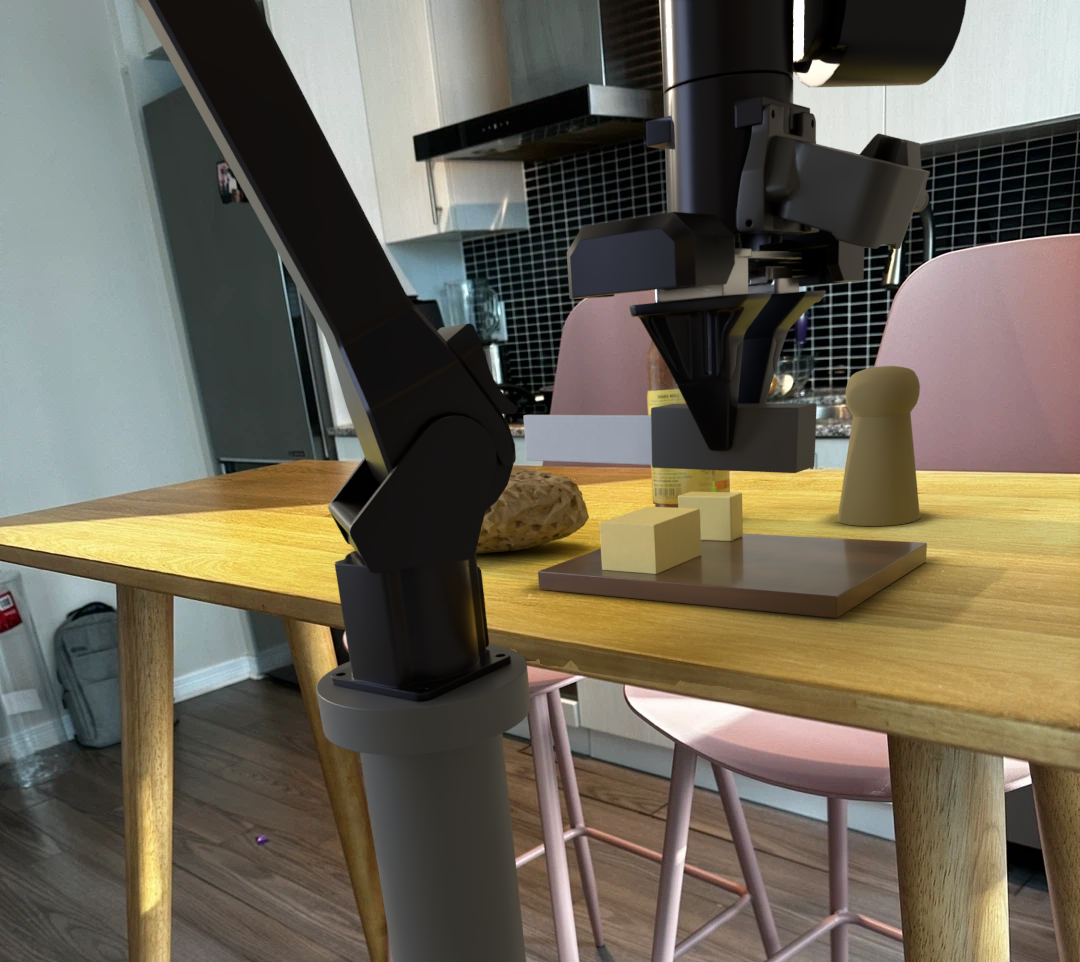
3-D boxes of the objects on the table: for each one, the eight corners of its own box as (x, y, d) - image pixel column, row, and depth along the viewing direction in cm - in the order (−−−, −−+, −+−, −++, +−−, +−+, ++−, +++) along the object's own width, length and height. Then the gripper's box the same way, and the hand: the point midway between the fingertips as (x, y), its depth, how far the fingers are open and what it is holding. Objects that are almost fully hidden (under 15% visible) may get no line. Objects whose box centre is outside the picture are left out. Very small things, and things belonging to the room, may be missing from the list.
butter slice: (731, 541, 69) (730, 496, 68) (679, 539, 71) (677, 495, 70) (743, 536, 71) (742, 492, 69) (691, 534, 73) (690, 491, 72)
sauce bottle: (736, 525, 81) (731, 249, 74) (657, 531, 81) (644, 257, 74) (723, 511, 87) (717, 255, 80) (649, 518, 87) (637, 263, 80)
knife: (795, 473, 49) (798, 407, 48) (516, 462, 58) (512, 407, 57) (815, 467, 50) (817, 403, 49) (539, 457, 60) (536, 403, 59)
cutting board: (836, 618, 54) (837, 596, 54) (538, 589, 66) (537, 571, 66) (926, 561, 64) (927, 542, 64) (654, 545, 76) (653, 529, 76)
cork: (933, 513, 78) (941, 361, 75) (898, 528, 74) (904, 368, 71) (859, 509, 82) (863, 365, 79) (822, 523, 78) (824, 372, 75)
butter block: (656, 574, 62) (654, 524, 61) (601, 570, 64) (598, 522, 63) (701, 555, 66) (700, 508, 65) (648, 551, 68) (646, 506, 67)
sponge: (338, 567, 85) (456, 541, 68) (331, 471, 84) (450, 421, 68) (475, 566, 92) (612, 543, 76) (470, 478, 91) (608, 435, 75)
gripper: (812, 4, 34) (806, 478, 40) (977, 77, 48) (956, 424, 53) (547, 76, 41) (573, 474, 46) (758, 123, 54) (759, 427, 60)
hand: (732, 447), depth 51 cm, fingers closed on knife, 2 cm apart
